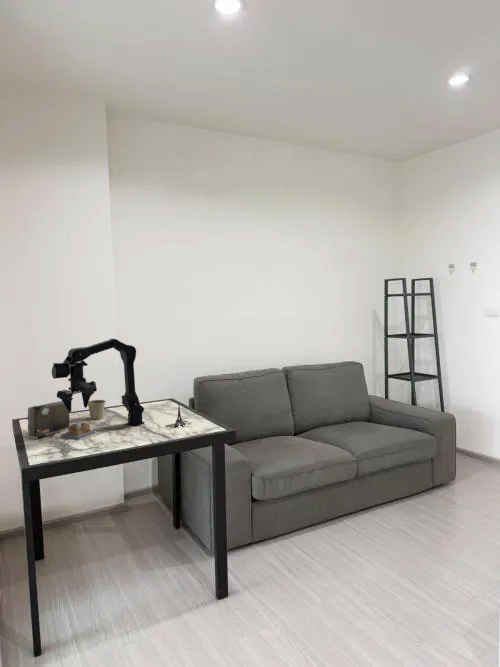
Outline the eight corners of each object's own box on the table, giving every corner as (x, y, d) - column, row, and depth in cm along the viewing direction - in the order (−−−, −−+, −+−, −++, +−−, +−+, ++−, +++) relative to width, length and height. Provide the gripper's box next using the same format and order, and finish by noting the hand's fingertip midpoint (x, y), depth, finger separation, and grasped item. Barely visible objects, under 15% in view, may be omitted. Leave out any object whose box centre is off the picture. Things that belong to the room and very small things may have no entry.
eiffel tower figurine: (186, 421, 243) (185, 396, 242) (197, 426, 235) (197, 399, 234) (160, 427, 233) (159, 400, 232) (171, 432, 225) (171, 404, 224)
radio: (66, 425, 236) (64, 395, 235) (78, 427, 232) (76, 397, 230) (23, 437, 216) (21, 405, 215) (35, 440, 212) (34, 407, 210)
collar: (79, 429, 224) (79, 422, 223) (89, 431, 221) (89, 424, 220) (68, 433, 218) (67, 425, 218) (78, 435, 215) (78, 427, 215)
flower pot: (102, 420, 244) (102, 403, 244) (84, 420, 245) (84, 403, 244) (108, 415, 254) (108, 399, 253) (91, 415, 254) (90, 399, 253)
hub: (95, 433, 221) (94, 422, 221) (78, 439, 213) (78, 428, 212) (79, 430, 226) (79, 420, 226) (62, 436, 217) (62, 425, 217)
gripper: (73, 380, 205) (74, 416, 206) (104, 374, 222) (105, 407, 223) (55, 378, 210) (56, 413, 211) (87, 372, 227) (88, 404, 228)
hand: (77, 409), depth 218 cm, fingers open, 9 cm apart
